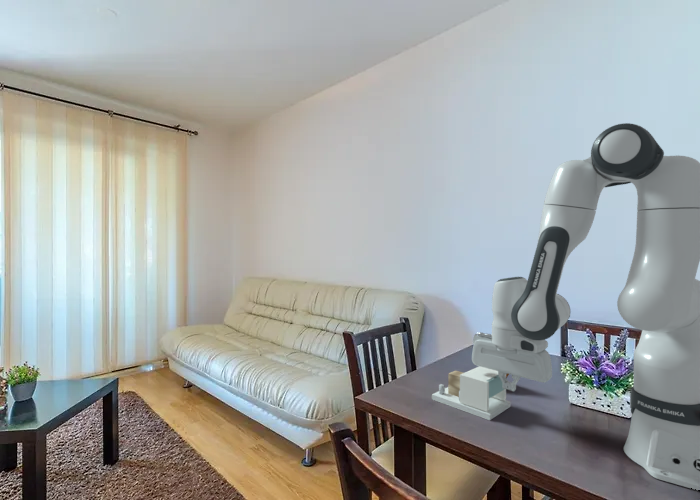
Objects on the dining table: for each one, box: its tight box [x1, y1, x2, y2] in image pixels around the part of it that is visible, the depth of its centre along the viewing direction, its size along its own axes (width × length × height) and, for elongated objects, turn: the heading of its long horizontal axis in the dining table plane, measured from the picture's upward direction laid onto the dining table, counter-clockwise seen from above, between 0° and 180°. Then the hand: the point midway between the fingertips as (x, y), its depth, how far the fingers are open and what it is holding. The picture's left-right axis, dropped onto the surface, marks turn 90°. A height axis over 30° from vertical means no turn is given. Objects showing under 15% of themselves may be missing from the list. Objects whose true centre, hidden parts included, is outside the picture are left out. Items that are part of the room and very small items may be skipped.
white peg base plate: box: [431, 383, 511, 421], centre depth 108 cm, size 18×12×4 cm, turn 43°
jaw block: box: [447, 370, 464, 397], centre depth 111 cm, size 4×4×6 cm
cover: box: [460, 366, 507, 412], centre depth 105 cm, size 8×11×8 cm
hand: (509, 389), depth 100 cm, fingers closed
